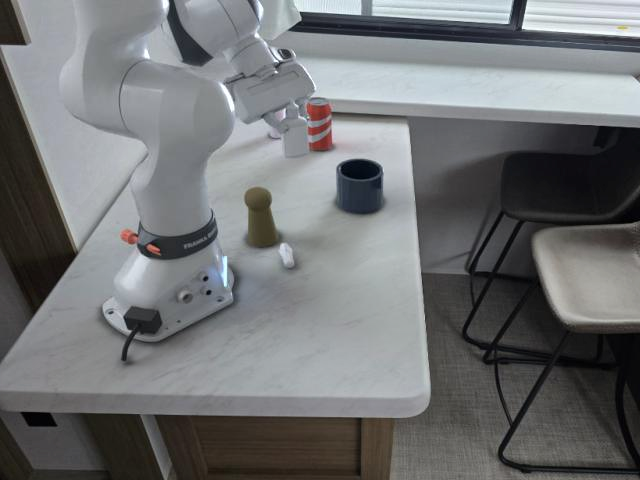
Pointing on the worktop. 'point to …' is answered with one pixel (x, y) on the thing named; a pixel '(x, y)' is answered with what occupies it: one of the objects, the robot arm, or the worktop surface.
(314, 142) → the beverage can
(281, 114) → the smoothie
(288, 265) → the small white plastic part
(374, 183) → the dark blue round pot
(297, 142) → the eye dropper bottle
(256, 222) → the olive pawn
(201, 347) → the worktop surface
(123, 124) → the robot arm
